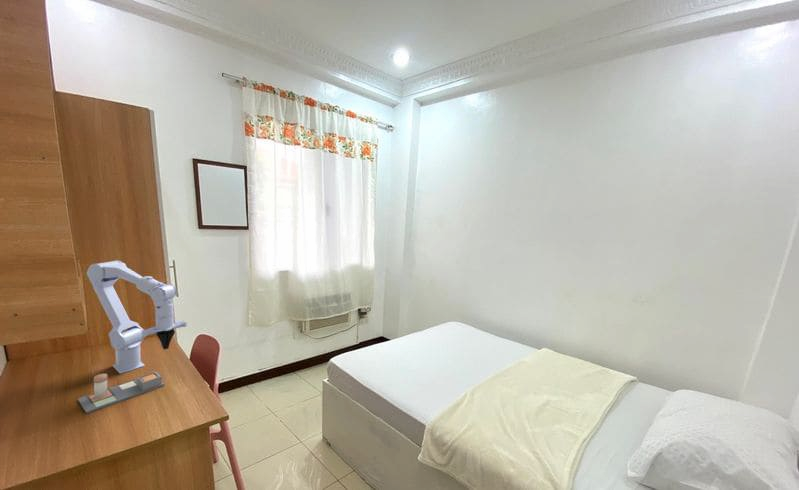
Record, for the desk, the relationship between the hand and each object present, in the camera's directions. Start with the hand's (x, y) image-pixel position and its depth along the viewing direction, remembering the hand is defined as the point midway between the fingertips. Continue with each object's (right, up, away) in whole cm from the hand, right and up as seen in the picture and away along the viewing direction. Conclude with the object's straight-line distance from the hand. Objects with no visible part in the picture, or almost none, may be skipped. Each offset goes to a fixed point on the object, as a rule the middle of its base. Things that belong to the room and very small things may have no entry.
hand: (165, 348), depth 126 cm
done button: (+2, -10, -10) cm, 14 cm away
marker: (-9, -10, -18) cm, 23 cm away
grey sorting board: (-4, -11, -15) cm, 19 cm away
